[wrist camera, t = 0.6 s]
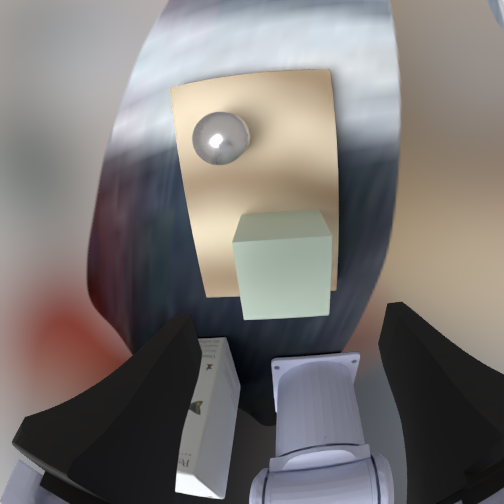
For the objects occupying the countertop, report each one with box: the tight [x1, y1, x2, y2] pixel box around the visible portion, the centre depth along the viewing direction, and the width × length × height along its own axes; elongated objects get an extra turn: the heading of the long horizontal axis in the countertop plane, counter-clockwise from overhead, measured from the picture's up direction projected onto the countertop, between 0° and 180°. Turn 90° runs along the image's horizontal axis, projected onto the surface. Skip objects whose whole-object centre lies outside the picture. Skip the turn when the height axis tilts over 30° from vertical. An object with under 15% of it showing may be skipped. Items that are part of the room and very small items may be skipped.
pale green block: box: [232, 209, 332, 320], centre depth 15 cm, size 5×5×4 cm
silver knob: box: [192, 112, 251, 165], centre depth 14 cm, size 3×3×4 cm
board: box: [170, 70, 339, 297], centre depth 16 cm, size 14×9×1 cm, turn 6°
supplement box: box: [175, 337, 240, 499], centre depth 19 cm, size 7×7×13 cm
